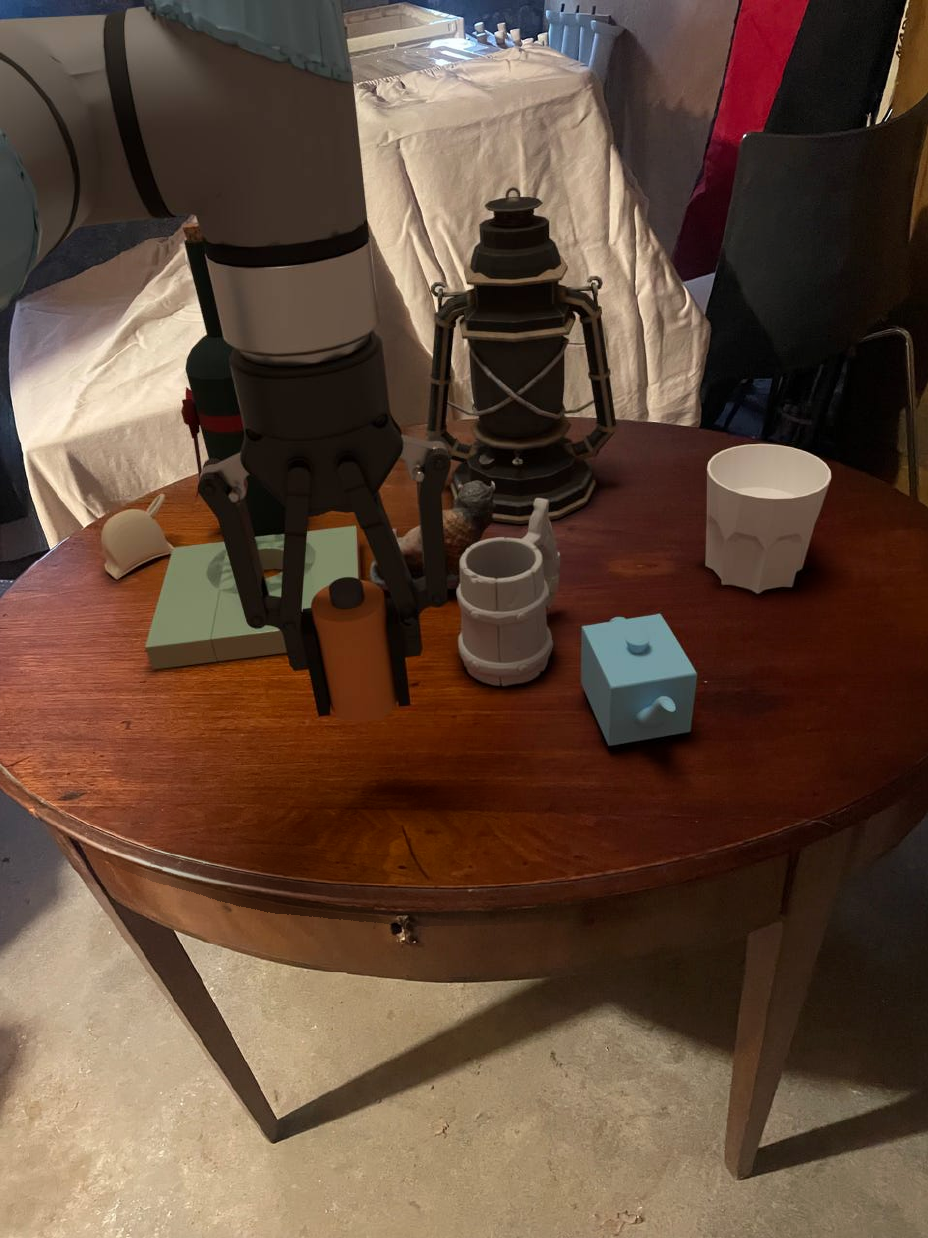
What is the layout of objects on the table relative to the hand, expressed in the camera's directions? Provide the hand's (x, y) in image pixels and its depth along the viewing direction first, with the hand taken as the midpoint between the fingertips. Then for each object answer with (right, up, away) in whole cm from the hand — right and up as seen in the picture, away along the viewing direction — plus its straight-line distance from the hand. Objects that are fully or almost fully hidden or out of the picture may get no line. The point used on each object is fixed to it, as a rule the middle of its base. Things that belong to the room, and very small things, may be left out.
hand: (364, 696), depth 57 cm
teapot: (+19, -3, +9) cm, 21 cm away
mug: (+11, +3, +17) cm, 21 cm away
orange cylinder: (0, 0, 0) cm, 0 cm away
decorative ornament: (-26, +11, +33) cm, 43 cm away
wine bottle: (-16, +14, +36) cm, 42 cm away
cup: (+33, +10, +24) cm, 42 cm away
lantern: (+13, +19, +39) cm, 45 cm away
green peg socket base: (-12, +6, +25) cm, 28 cm away
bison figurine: (+4, +8, +26) cm, 27 cm away
